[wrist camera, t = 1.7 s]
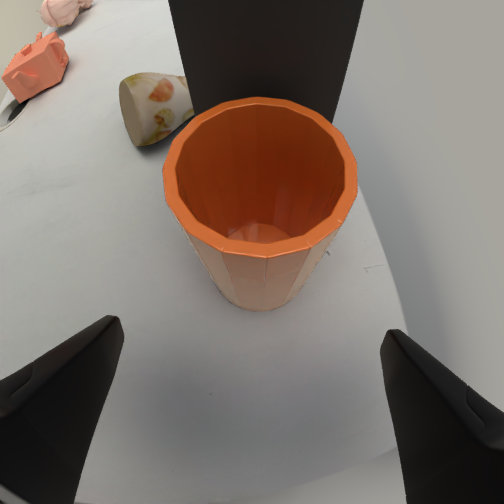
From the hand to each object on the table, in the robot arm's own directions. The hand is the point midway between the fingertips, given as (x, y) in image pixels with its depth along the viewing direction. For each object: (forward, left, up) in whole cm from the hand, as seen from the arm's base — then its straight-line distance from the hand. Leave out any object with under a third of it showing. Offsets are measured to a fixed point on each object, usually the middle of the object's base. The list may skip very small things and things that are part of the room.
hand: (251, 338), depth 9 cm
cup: (+6, -2, -12) cm, 13 cm away
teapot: (+43, +24, -12) cm, 50 cm away
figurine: (+70, +25, -12) cm, 75 cm away
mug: (+23, +3, -12) cm, 26 cm away
